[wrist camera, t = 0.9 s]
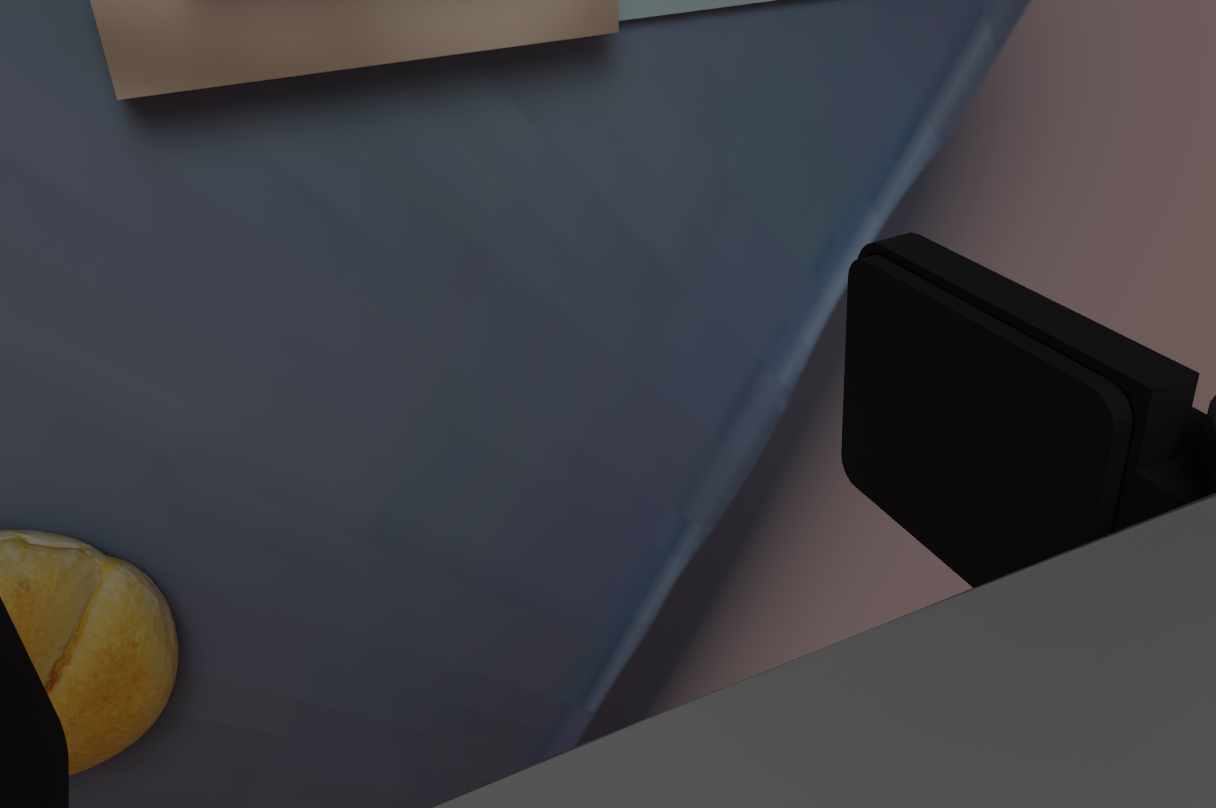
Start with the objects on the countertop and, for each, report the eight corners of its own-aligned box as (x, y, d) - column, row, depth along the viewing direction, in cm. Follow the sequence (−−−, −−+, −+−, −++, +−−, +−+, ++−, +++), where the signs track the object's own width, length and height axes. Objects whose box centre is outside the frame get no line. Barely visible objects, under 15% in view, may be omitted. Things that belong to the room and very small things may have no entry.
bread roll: (71, 765, 38) (71, 853, 35) (-184, 663, 33) (-212, 756, 30) (233, 605, 38) (247, 678, 35) (1, 475, 33) (-7, 548, 29)
